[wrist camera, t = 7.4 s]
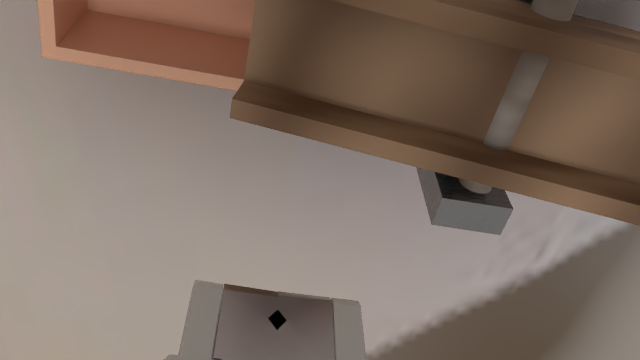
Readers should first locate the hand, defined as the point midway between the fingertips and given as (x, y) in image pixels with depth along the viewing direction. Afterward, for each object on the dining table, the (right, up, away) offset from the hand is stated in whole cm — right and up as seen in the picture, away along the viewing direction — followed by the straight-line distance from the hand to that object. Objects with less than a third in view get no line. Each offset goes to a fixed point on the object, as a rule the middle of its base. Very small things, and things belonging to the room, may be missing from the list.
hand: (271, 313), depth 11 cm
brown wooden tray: (+8, +6, +11) cm, 15 cm away
